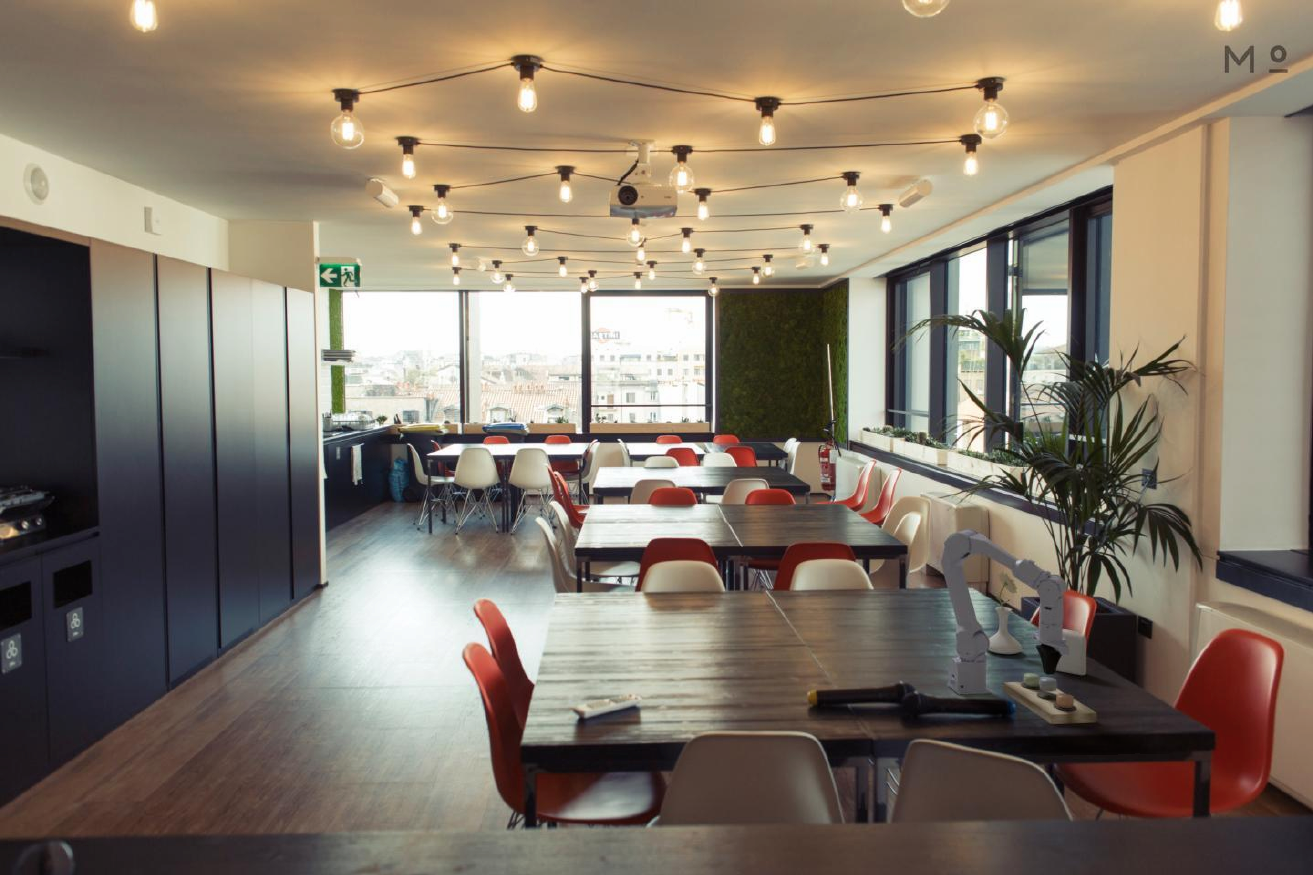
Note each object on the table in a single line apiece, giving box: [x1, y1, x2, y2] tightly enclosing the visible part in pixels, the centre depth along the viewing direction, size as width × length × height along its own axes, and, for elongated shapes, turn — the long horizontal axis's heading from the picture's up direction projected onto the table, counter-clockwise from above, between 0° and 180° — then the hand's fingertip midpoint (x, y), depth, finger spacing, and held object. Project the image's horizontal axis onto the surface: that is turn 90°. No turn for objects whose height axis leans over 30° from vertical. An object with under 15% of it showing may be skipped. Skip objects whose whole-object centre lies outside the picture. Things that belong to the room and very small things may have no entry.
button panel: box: [1002, 681, 1098, 725], centre depth 233 cm, size 12×24×3 cm, turn 6°
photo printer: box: [1055, 628, 1087, 676], centre depth 260 cm, size 10×4×12 cm, turn 47°
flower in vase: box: [987, 571, 1023, 655], centre depth 280 cm, size 13×11×25 cm
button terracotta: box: [1056, 692, 1075, 708], centre depth 224 cm, size 4×4×2 cm
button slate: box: [1040, 676, 1057, 691], centre depth 232 cm, size 4×4×2 cm
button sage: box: [1023, 672, 1041, 687], centre depth 240 cm, size 4×4×2 cm
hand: (1049, 673), depth 231 cm, fingers closed
